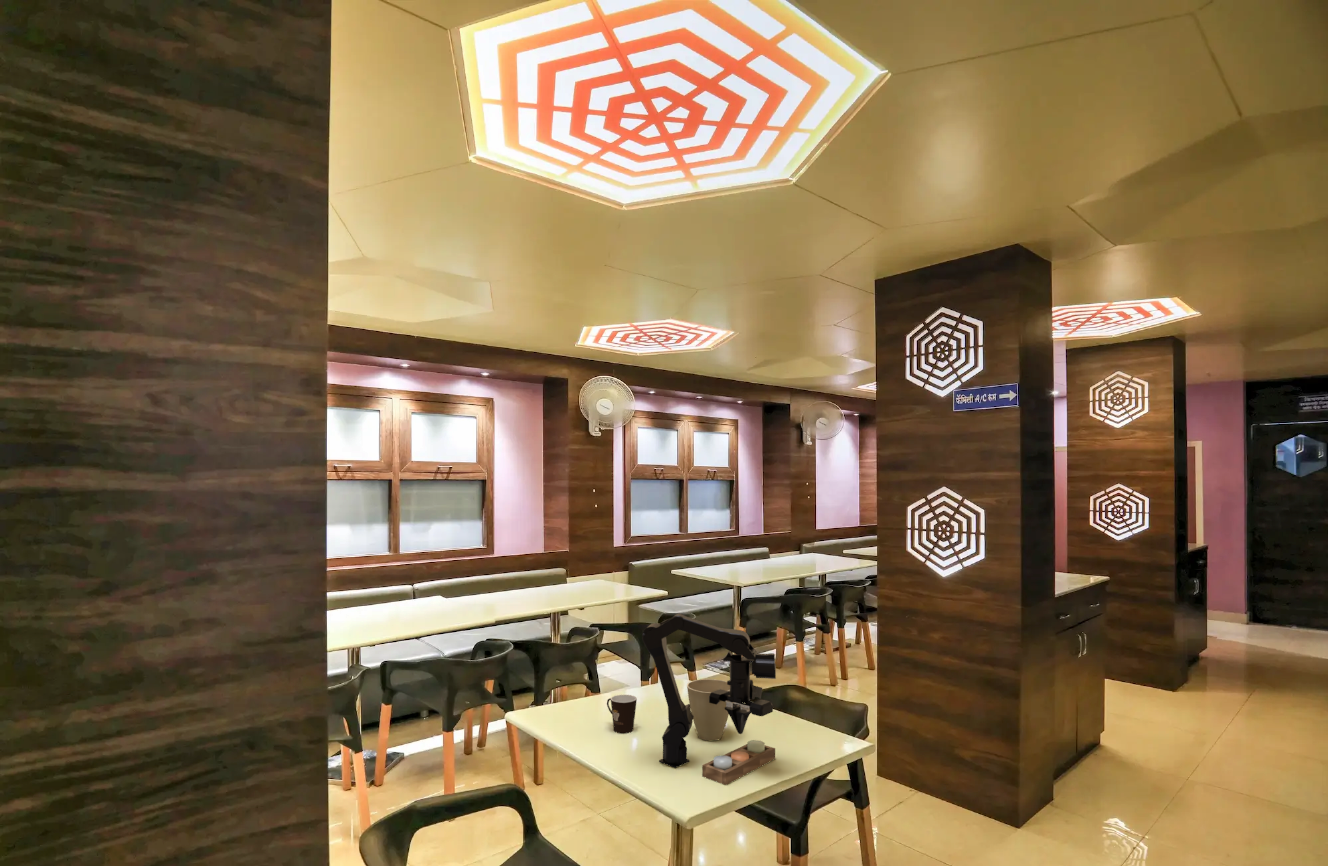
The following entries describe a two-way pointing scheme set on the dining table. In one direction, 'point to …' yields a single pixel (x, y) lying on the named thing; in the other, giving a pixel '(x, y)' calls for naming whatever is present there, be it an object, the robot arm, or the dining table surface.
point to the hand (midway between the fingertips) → (740, 733)
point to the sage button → (756, 746)
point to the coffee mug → (623, 712)
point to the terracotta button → (740, 756)
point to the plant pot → (707, 708)
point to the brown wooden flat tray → (738, 765)
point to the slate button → (723, 762)
